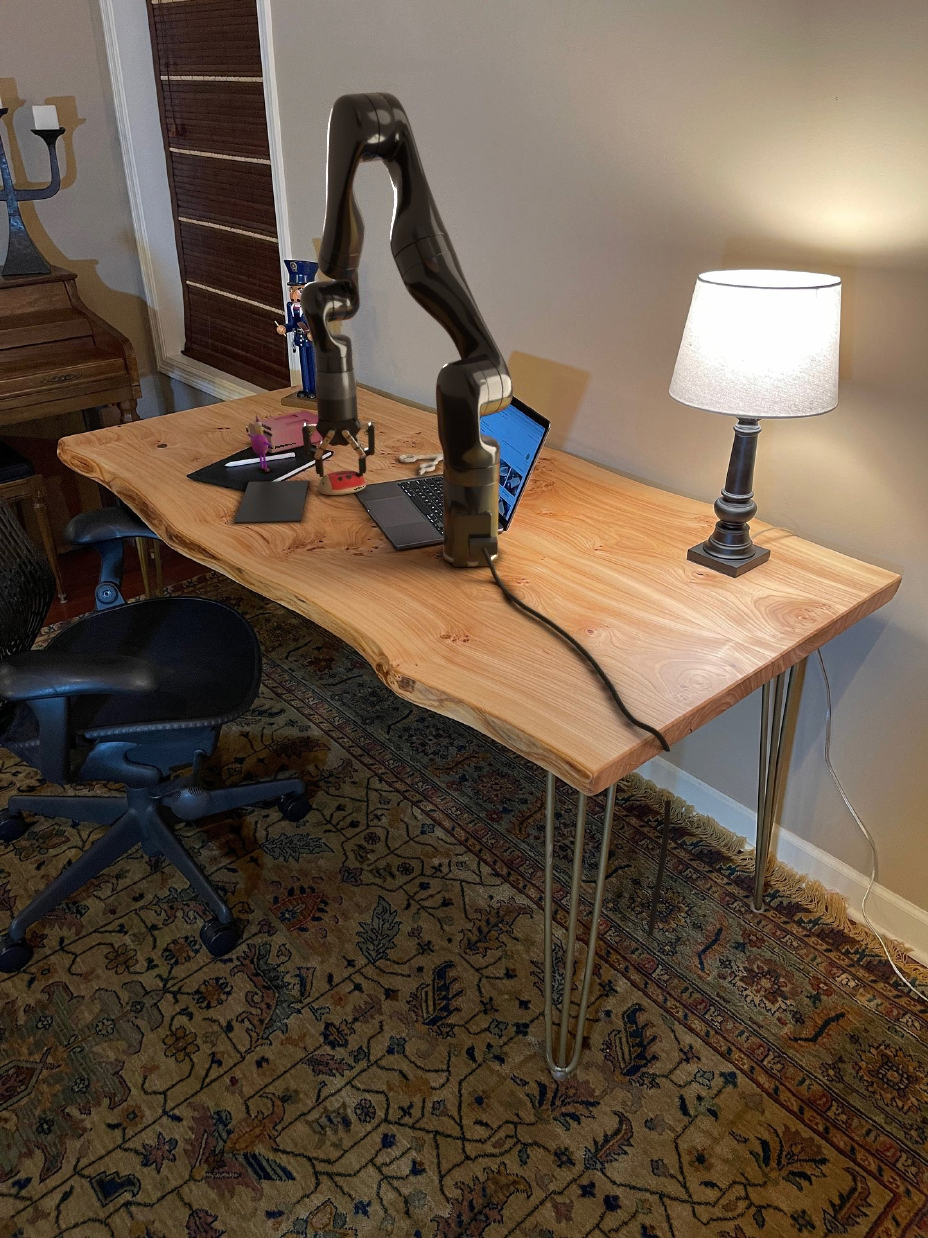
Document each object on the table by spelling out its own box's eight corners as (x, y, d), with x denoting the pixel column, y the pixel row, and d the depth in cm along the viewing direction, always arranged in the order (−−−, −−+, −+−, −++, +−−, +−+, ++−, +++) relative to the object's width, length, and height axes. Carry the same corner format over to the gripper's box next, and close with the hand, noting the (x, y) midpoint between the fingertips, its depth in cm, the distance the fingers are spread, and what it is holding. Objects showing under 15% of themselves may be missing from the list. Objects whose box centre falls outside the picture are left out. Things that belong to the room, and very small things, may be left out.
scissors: (391, 457, 193) (464, 438, 204) (391, 461, 193) (464, 442, 204) (420, 472, 186) (494, 451, 196) (420, 475, 186) (494, 454, 197)
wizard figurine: (283, 476, 185) (277, 419, 179) (269, 480, 184) (263, 422, 178) (256, 461, 193) (249, 406, 187) (242, 465, 191) (236, 409, 185)
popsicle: (346, 414, 206) (270, 432, 195) (347, 434, 209) (272, 453, 197) (323, 405, 212) (248, 422, 201) (325, 425, 215) (250, 443, 203)
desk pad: (300, 521, 166) (300, 520, 165) (234, 523, 165) (234, 521, 165) (308, 481, 183) (308, 480, 183) (248, 483, 182) (248, 481, 182)
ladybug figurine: (314, 488, 180) (312, 471, 178) (361, 481, 183) (360, 464, 182) (323, 499, 175) (322, 482, 173) (372, 492, 178) (371, 475, 176)
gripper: (296, 398, 165) (303, 483, 174) (374, 397, 166) (378, 481, 175) (299, 387, 172) (306, 469, 180) (374, 386, 173) (378, 467, 181)
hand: (341, 475), depth 177 cm, fingers closed on ladybug figurine, 7 cm apart
